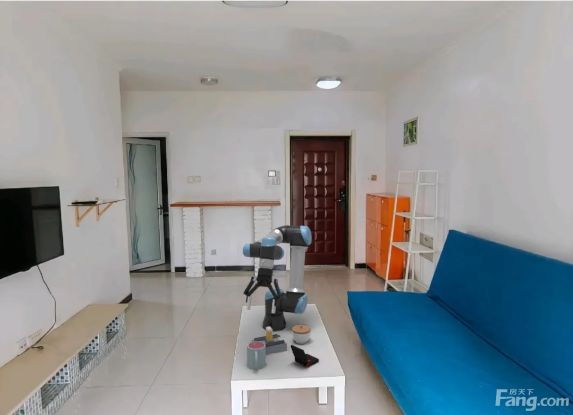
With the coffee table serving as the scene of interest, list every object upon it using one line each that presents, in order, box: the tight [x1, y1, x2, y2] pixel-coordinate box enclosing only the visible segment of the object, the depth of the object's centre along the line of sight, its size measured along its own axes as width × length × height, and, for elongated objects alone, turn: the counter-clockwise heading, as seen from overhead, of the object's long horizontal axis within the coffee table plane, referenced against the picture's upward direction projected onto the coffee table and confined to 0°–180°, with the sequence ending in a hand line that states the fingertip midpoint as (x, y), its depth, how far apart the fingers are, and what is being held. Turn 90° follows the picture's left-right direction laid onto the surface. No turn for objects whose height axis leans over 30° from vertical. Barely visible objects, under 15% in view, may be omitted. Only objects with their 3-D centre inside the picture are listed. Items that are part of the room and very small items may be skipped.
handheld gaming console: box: [289, 344, 320, 368], centre depth 186 cm, size 9×12×10 cm
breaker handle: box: [265, 327, 274, 343], centre depth 202 cm, size 4×5×7 cm
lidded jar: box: [291, 324, 312, 345], centre depth 211 cm, size 11×11×9 cm
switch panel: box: [251, 333, 288, 356], centre depth 202 cm, size 16×12×5 cm
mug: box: [246, 341, 267, 370], centre depth 183 cm, size 14×9×10 cm
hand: (260, 311), depth 182 cm, fingers open, 13 cm apart
